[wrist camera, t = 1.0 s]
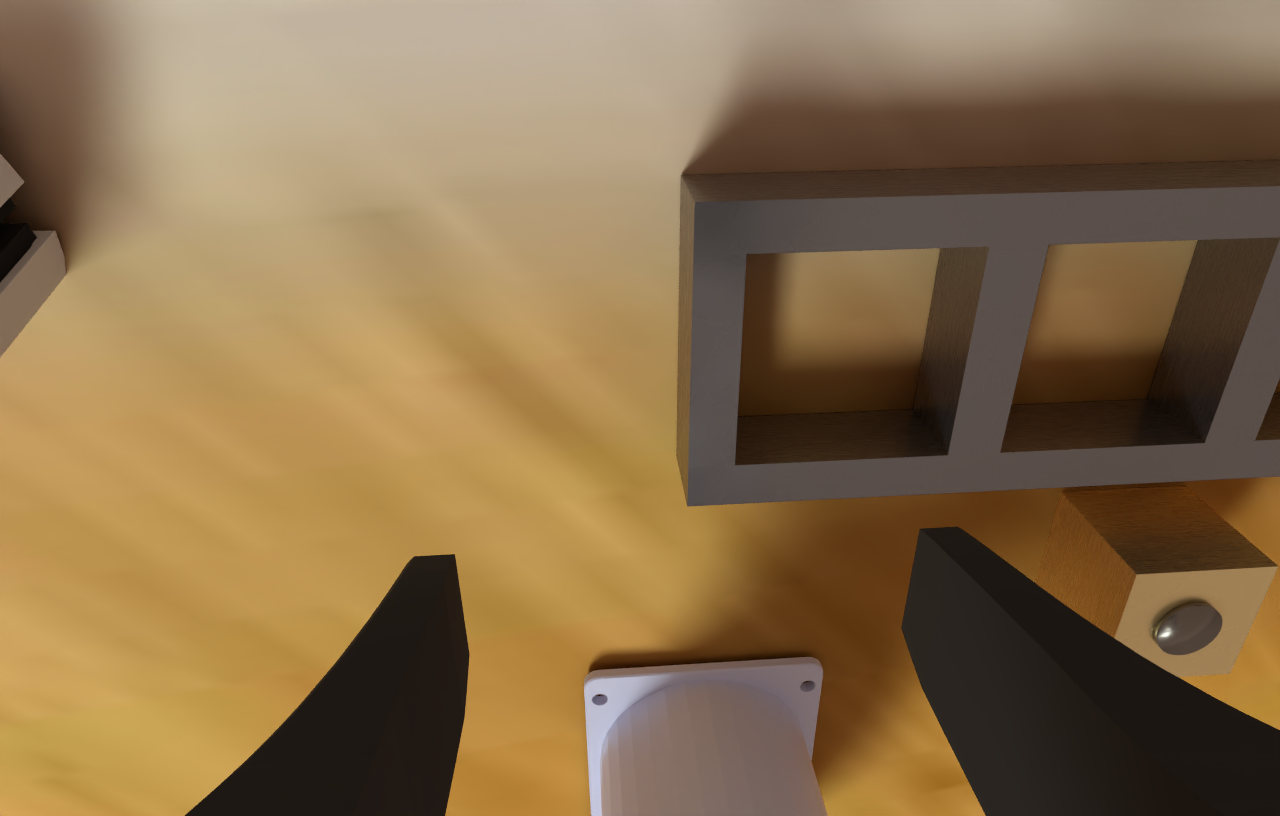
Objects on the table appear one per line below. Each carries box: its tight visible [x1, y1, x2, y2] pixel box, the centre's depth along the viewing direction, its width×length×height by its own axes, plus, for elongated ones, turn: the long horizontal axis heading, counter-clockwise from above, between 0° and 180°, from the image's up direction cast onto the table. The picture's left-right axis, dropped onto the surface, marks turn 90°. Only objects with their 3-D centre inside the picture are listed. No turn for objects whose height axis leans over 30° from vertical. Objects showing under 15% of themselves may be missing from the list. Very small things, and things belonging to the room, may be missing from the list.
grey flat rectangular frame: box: [676, 160, 1280, 506], centre depth 22 cm, size 8×22×2 cm, turn 90°
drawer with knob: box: [1036, 486, 1278, 677], centre depth 25 cm, size 4×4×4 cm
